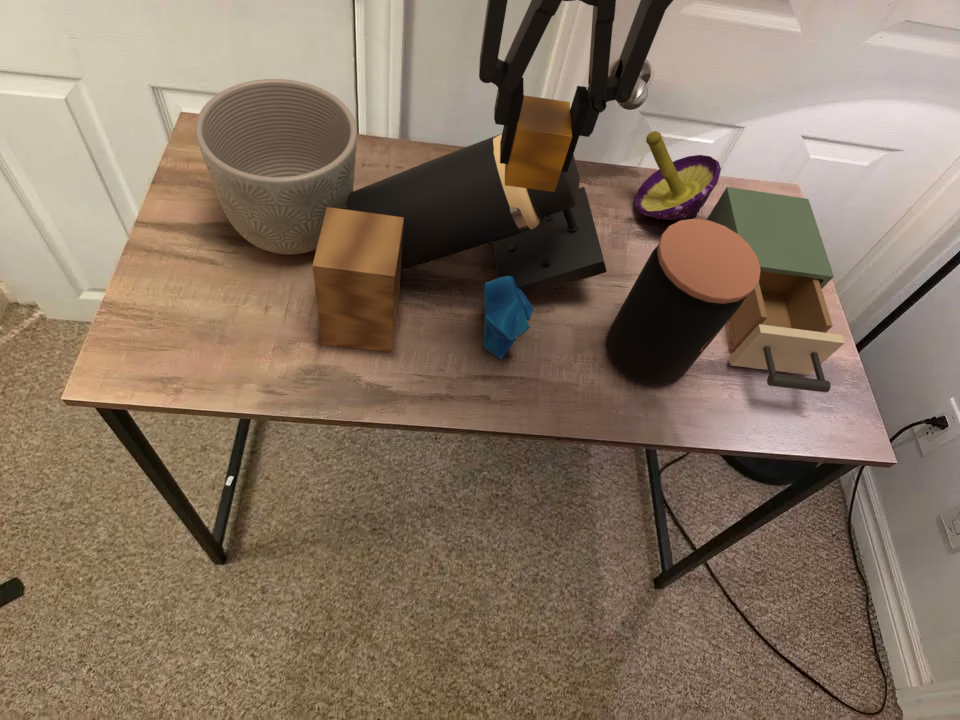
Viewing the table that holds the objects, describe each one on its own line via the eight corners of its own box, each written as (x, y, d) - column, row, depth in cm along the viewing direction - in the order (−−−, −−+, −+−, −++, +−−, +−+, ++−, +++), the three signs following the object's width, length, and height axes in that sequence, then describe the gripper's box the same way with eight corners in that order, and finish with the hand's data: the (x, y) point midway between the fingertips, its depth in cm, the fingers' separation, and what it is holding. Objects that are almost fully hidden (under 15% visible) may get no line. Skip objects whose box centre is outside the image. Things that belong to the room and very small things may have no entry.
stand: (399, 298, 78) (404, 217, 66) (391, 352, 74) (395, 276, 62) (333, 290, 77) (326, 206, 66) (321, 344, 73) (312, 265, 61)
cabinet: (793, 319, 86) (834, 276, 78) (711, 308, 85) (745, 264, 77) (772, 244, 93) (808, 198, 85) (697, 233, 92) (726, 186, 84)
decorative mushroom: (696, 137, 77) (736, 230, 85) (698, 89, 85) (734, 178, 93) (603, 176, 84) (648, 258, 92) (612, 128, 92) (653, 208, 100)
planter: (237, 171, 85) (214, 68, 73) (365, 186, 87) (364, 88, 75) (208, 268, 76) (176, 170, 64) (351, 282, 78) (347, 189, 66)
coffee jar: (687, 398, 76) (765, 309, 61) (601, 378, 76) (658, 284, 61) (686, 327, 82) (757, 231, 67) (607, 309, 82) (660, 208, 67)
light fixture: (347, 165, 76) (553, 85, 69) (411, 257, 90) (588, 198, 83) (342, 244, 69) (573, 163, 62) (413, 330, 83) (607, 272, 76)
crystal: (542, 266, 76) (561, 333, 68) (512, 318, 82) (525, 386, 73) (486, 249, 74) (498, 316, 65) (458, 304, 79) (466, 373, 71)
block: (552, 158, 58) (570, 101, 53) (554, 192, 56) (572, 136, 51) (504, 151, 58) (517, 93, 53) (504, 185, 56) (517, 128, 50)
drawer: (818, 411, 77) (857, 381, 71) (737, 402, 76) (769, 371, 70) (787, 296, 87) (819, 261, 80) (715, 287, 86) (741, 250, 79)
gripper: (753, -167, 39) (625, 143, 59) (470, -223, 37) (436, 116, 57) (780, -113, 35) (634, 200, 54) (465, -173, 33) (430, 173, 53)
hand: (533, 157), depth 56 cm, fingers closed on block, 4 cm apart
